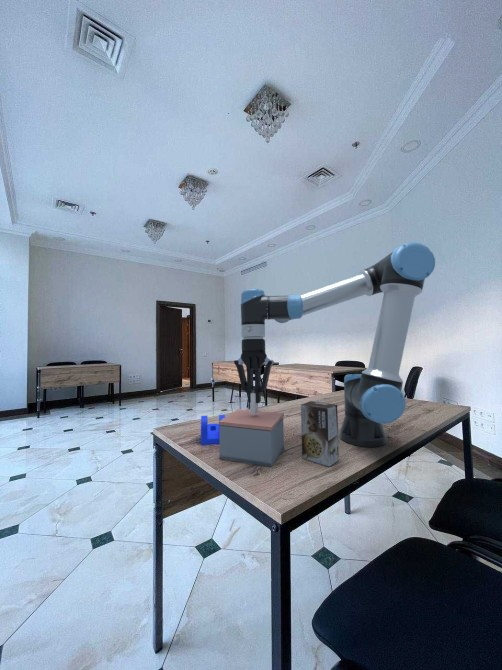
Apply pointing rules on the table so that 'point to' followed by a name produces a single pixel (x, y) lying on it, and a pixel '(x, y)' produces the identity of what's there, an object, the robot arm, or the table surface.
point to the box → (251, 444)
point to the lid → (252, 419)
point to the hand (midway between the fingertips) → (254, 413)
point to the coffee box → (319, 432)
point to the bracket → (210, 431)
